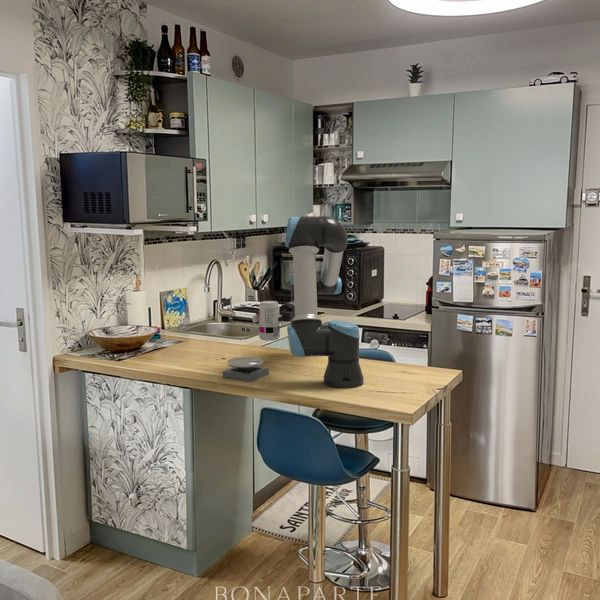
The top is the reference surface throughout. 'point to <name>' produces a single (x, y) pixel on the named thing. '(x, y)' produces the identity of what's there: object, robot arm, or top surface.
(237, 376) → the scale frame
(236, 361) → the scale plate
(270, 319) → the supplement can
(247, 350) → the top surface
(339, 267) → the robot arm
